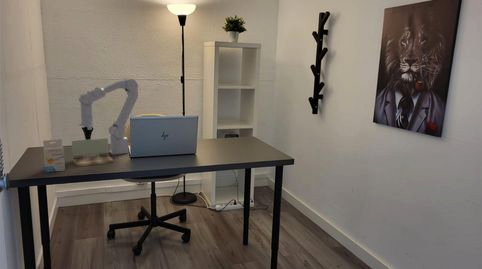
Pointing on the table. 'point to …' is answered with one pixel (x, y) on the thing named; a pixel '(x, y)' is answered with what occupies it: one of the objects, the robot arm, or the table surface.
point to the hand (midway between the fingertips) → (88, 140)
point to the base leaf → (92, 160)
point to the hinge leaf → (90, 147)
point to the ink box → (53, 155)
